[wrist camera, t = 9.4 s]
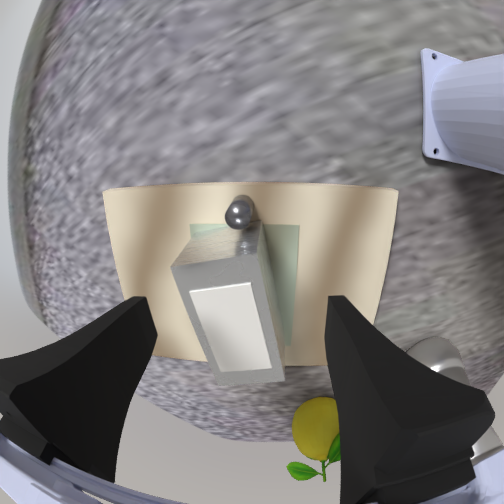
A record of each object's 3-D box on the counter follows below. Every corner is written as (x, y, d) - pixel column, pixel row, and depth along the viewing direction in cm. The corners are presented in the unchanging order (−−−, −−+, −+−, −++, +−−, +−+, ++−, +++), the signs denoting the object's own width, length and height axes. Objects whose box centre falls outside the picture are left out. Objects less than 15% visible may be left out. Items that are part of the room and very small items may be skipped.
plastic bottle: (448, 358, 23) (511, 511, 5) (394, 383, 25) (434, 551, 6) (449, 317, 21) (540, 497, 3) (386, 346, 23) (444, 553, 4)
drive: (261, 220, 18) (256, 253, 13) (284, 331, 21) (285, 382, 16) (195, 232, 18) (169, 267, 14) (229, 338, 22) (218, 386, 17)
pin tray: (392, 188, 17) (415, 201, 14) (358, 355, 23) (366, 384, 20) (109, 188, 19) (82, 201, 15) (144, 346, 25) (131, 371, 22)
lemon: (287, 415, 28) (285, 493, 19) (283, 385, 25) (282, 476, 16) (346, 409, 27) (356, 486, 18) (351, 378, 24) (368, 466, 15)
